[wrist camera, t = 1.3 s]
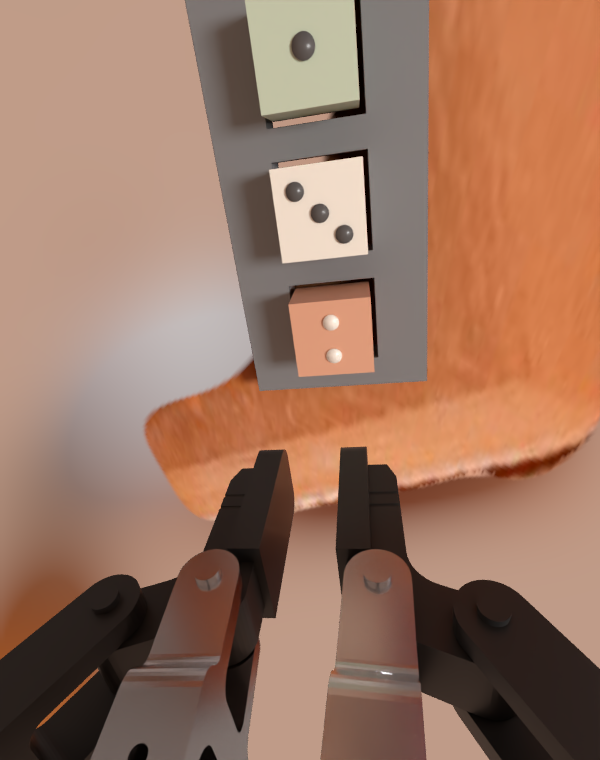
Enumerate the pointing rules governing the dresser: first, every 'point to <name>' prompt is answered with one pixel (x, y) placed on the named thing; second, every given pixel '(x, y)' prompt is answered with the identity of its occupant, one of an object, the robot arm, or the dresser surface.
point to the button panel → (321, 138)
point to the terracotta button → (332, 329)
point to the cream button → (320, 210)
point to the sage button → (304, 56)
